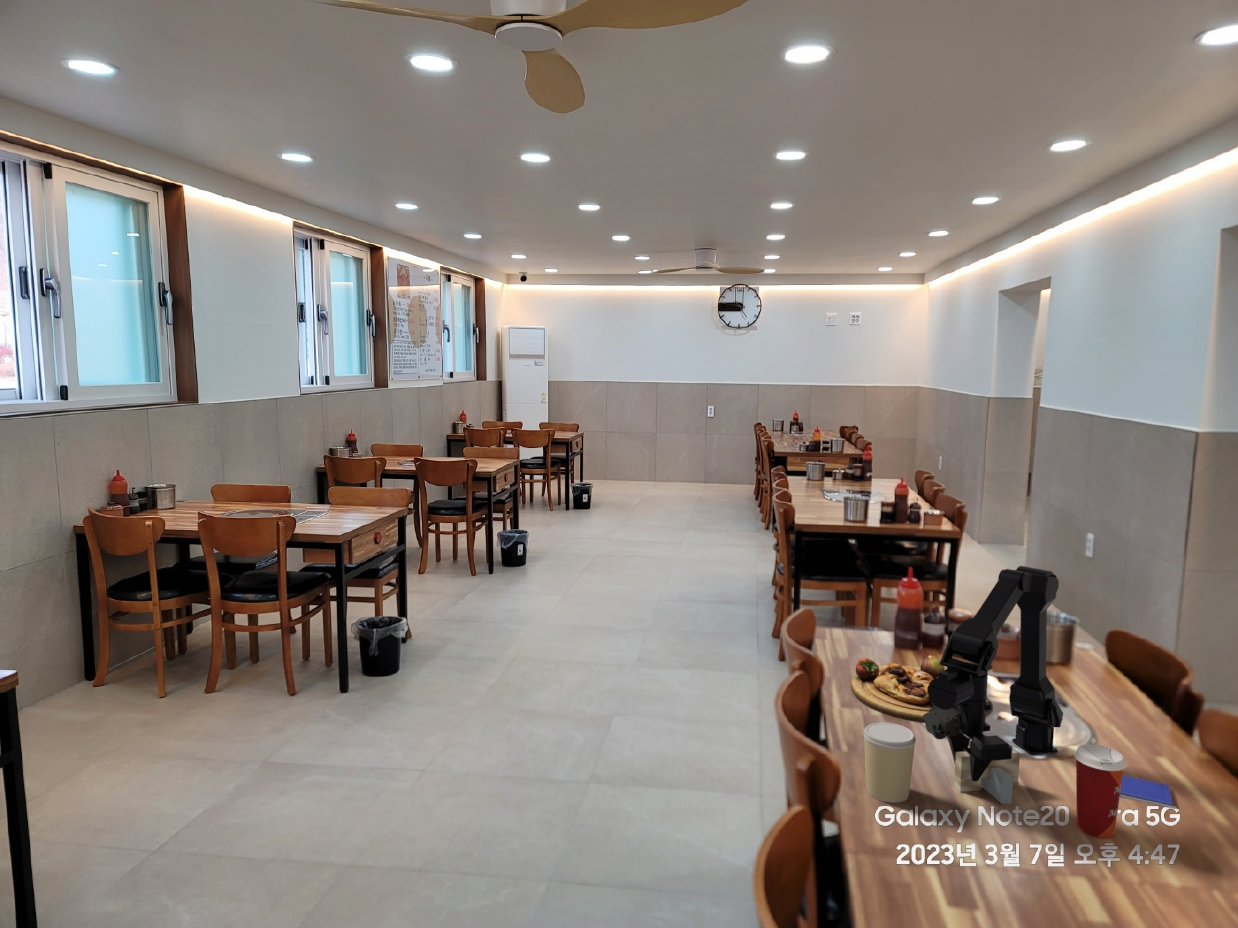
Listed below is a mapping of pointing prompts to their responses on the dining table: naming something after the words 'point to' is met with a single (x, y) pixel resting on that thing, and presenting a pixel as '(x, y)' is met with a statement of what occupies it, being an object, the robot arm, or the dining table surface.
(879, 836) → the dining table surface
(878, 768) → the coffee cup
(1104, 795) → the paper cup
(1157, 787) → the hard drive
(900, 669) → the wooden plate with food
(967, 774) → the birch plate
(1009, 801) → the gray u-shaped block
